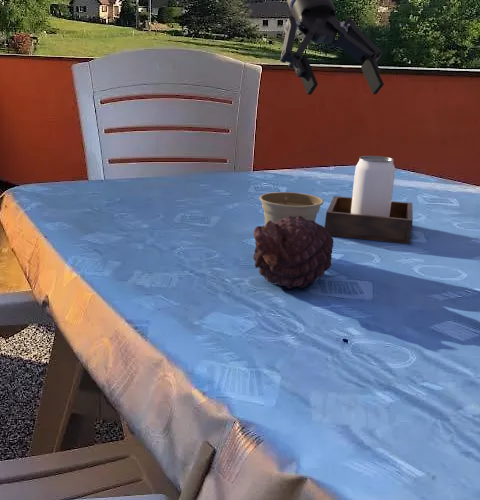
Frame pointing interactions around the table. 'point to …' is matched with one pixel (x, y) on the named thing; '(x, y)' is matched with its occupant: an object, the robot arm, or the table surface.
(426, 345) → the table surface
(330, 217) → the wooden box
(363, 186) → the can
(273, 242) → the pine cone
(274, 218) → the flower pot
